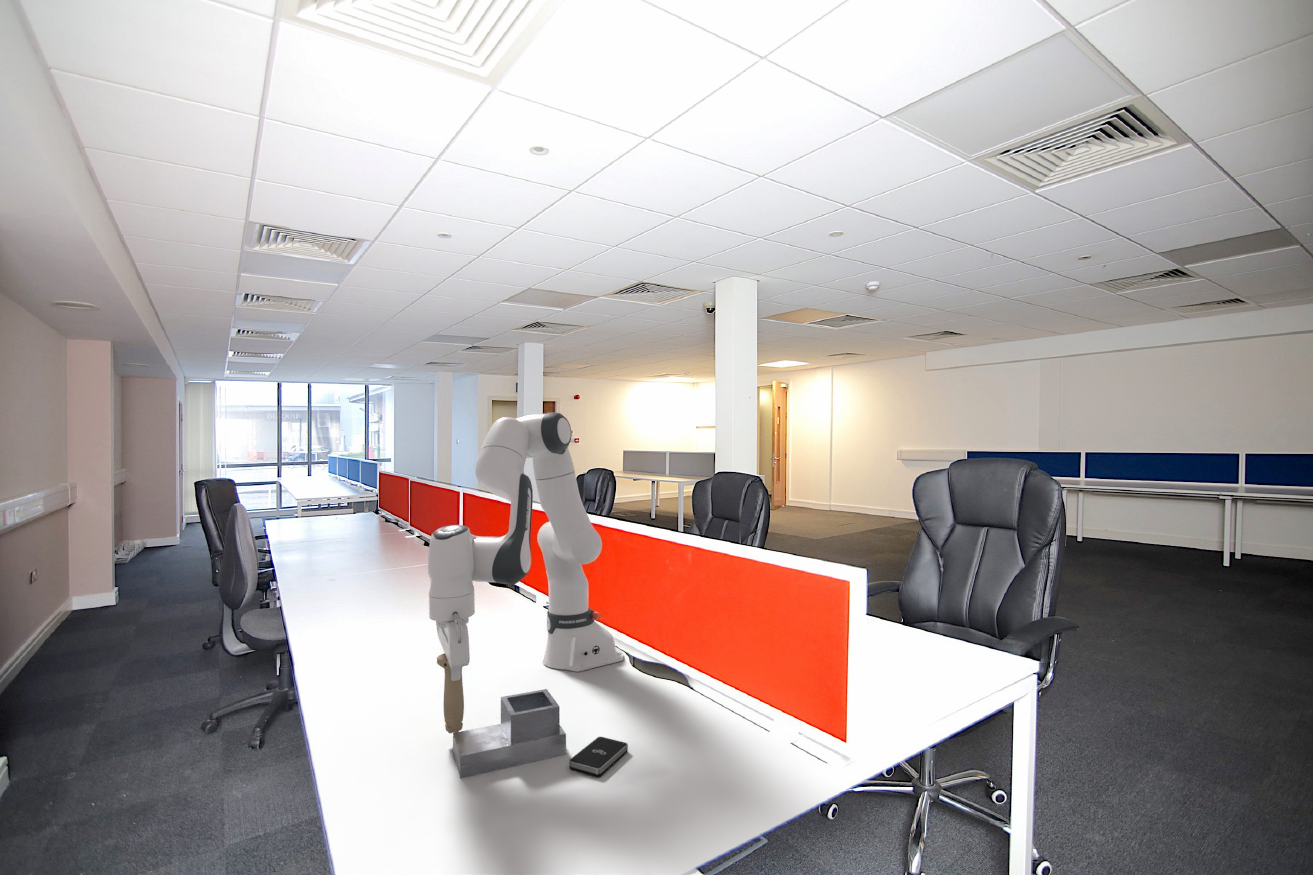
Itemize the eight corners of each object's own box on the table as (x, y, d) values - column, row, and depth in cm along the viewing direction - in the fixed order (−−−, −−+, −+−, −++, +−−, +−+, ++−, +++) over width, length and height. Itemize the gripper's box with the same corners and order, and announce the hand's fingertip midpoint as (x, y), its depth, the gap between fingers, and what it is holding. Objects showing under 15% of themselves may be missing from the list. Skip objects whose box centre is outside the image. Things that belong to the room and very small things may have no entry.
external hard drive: (629, 753, 121) (628, 743, 122) (598, 780, 112) (598, 769, 112) (599, 745, 125) (599, 735, 125) (567, 771, 115) (567, 761, 115)
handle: (459, 738, 122) (458, 662, 122) (433, 733, 124) (432, 658, 124) (474, 727, 126) (473, 654, 126) (448, 722, 128) (447, 650, 128)
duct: (552, 732, 130) (552, 687, 130) (566, 754, 121) (566, 705, 121) (453, 753, 121) (453, 704, 121) (460, 778, 112) (460, 725, 112)
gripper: (476, 617, 117) (478, 690, 117) (460, 593, 135) (462, 656, 136) (442, 622, 114) (443, 696, 114) (430, 597, 133) (431, 661, 133)
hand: (453, 674), depth 125 cm, fingers closed on handle, 4 cm apart
